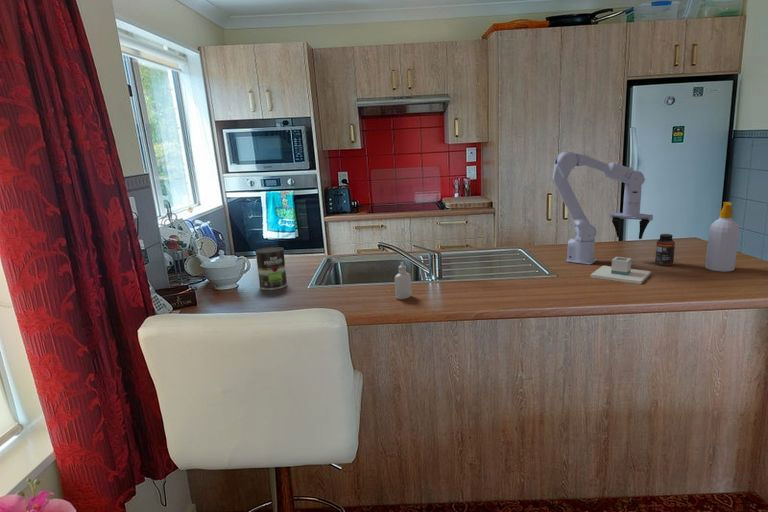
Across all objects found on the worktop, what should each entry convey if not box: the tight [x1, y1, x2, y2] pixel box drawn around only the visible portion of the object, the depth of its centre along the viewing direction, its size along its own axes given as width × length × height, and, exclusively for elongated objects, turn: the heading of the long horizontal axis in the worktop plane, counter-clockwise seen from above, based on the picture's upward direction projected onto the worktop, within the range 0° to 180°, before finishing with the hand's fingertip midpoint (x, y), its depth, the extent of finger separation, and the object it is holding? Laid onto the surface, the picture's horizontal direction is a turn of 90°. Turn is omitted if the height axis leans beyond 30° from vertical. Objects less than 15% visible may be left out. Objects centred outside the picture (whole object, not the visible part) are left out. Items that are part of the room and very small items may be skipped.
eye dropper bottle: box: [394, 261, 412, 300], centre depth 153 cm, size 4×6×12 cm
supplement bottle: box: [654, 233, 676, 267], centre depth 174 cm, size 6×6×11 cm
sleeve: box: [611, 256, 632, 276], centre depth 164 cm, size 5×5×5 cm
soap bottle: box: [704, 201, 740, 273], centre depth 163 cm, size 9×9×24 cm
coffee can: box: [255, 246, 288, 291], centre depth 174 cm, size 10×10×14 cm
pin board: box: [590, 265, 652, 285], centre depth 164 cm, size 16×14×4 cm
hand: (629, 237), depth 179 cm, fingers open, 7 cm apart
